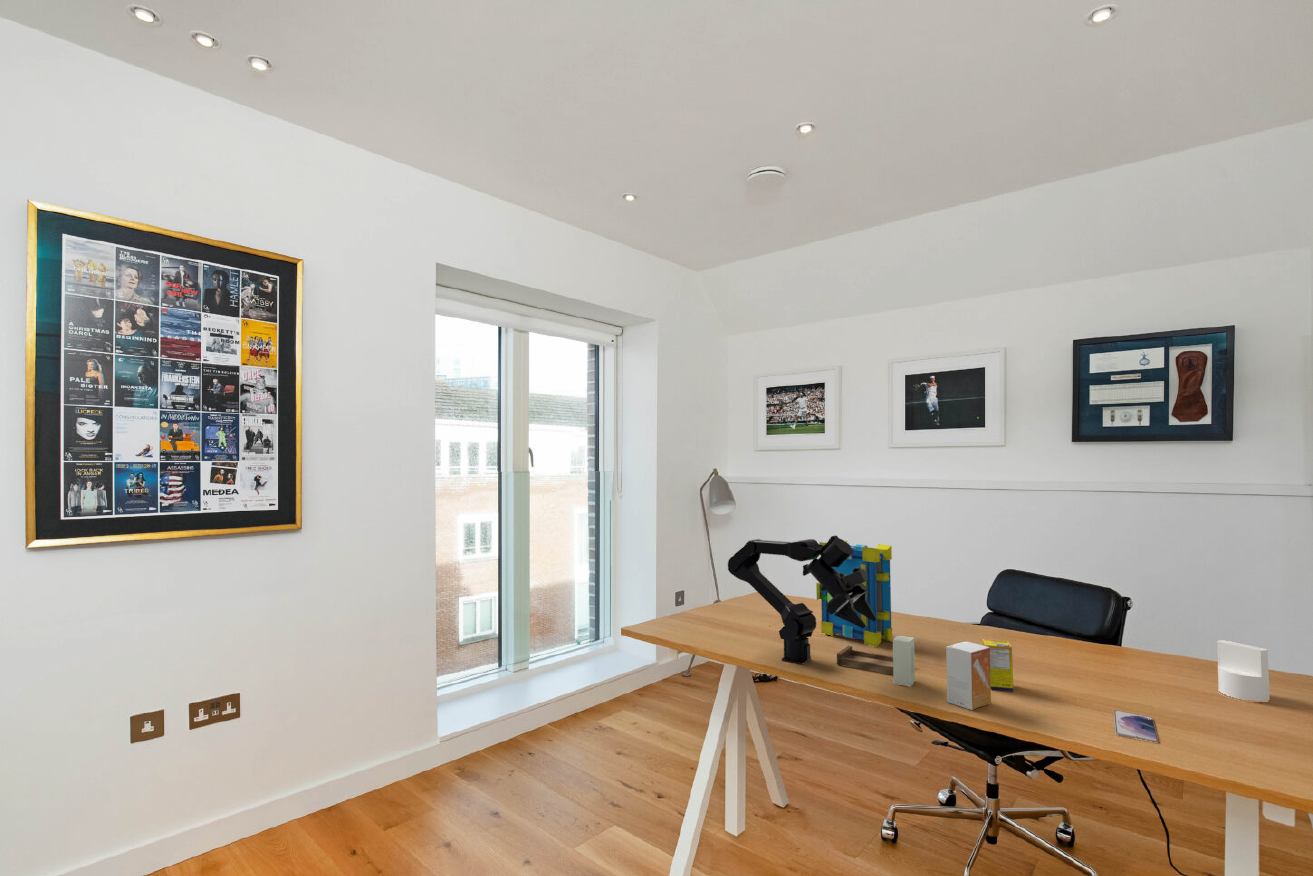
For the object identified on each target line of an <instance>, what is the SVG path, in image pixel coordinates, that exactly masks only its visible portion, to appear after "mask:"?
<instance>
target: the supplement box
mask: <svg viewBox="0 0 1313 876" xmlns="http://www.w3.org/2000/svg"><path fill="white" fill-rule="evenodd" d="M981 643H982V644H981V645H983V646H987V647H990V676H991V690H995V691H996V690H998V691H1007V692H1008V691H1009V692H1014V672H1013V671H1014V668H1013V667H1014V664H1013V647H1012V645H1011V644H1010V642H1009V641H1008V640H999V639H989V638H988V639H986V638H982V641H981Z"/></svg>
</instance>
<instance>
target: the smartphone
mask: <svg viewBox="0 0 1313 876" xmlns="http://www.w3.org/2000/svg"><path fill="white" fill-rule="evenodd" d="M1148 719H1149V720H1148ZM1150 719H1151V720H1150ZM1152 719H1153V720H1154V718H1153V717H1151V716H1146V715H1140V714H1137V713H1136V714H1135V713H1132V712H1126V711H1119V710H1113V721H1114V722H1113V723H1114V725H1113V726H1114V734H1115V736H1117V735H1118V736H1117V737H1120V736H1123V738H1126V737H1129V738H1128V739H1131V738H1137V739H1142V740H1147V741H1152V742H1159V743H1160V741H1159V739H1158V738H1159V737H1158V734H1157V729H1156V726H1155V725H1154V724H1155V720H1154V721H1153V720H1152ZM1155 729H1156V730H1155Z"/></svg>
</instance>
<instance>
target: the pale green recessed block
mask: <svg viewBox="0 0 1313 876" xmlns="http://www.w3.org/2000/svg"><path fill="white" fill-rule="evenodd" d="M892 656H893V675H892V676H893V677H892V678H893V684H894V685H898V686H905V687H911V686H912V685H913V684H914V683H915V682H914V681H916V671H915V670H916V667H915V660H916V659H915V637H911V636H905V635H899V634H898V635H896V636H895V637H894V638H892Z"/></svg>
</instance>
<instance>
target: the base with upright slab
mask: <svg viewBox="0 0 1313 876" xmlns="http://www.w3.org/2000/svg"><path fill="white" fill-rule="evenodd" d="M1216 647H1217V648H1216V649H1217V677H1218V678H1217V680H1218V683H1217V684H1218V692H1219V691H1220V692H1221V693H1223V694H1226V695H1227V696H1231V697H1234V698H1237V699H1242V700H1255V701H1266V700H1270V698H1271V697H1270V696H1271V695H1270V678H1269V676H1270V675H1269V658H1268V657H1269V655H1268V651H1269V650H1268V648H1264V647H1263V648H1262V647H1259V646H1255V645H1250V644H1245V643H1239V642H1234V641H1229V640H1224V639H1221V640H1220V639H1219V640H1216Z"/></svg>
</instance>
